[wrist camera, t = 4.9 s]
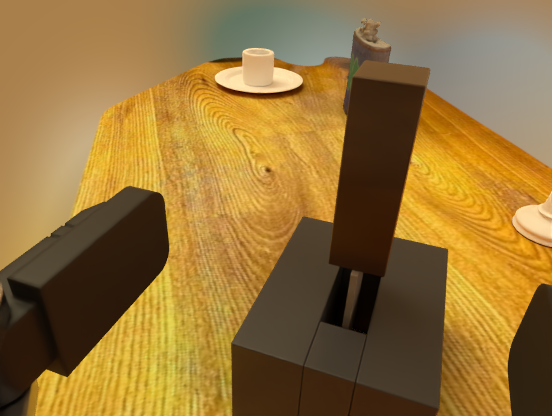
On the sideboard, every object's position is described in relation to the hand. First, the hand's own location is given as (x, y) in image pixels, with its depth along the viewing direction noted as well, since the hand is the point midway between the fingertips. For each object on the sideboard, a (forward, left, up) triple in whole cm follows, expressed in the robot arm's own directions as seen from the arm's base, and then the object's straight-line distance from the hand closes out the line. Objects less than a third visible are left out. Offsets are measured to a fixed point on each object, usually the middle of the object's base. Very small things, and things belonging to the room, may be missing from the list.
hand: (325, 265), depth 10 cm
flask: (-6, +45, -13) cm, 47 cm away
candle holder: (-21, +51, -13) cm, 56 cm away
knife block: (0, +9, -13) cm, 16 cm away
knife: (0, +9, -13) cm, 16 cm away
